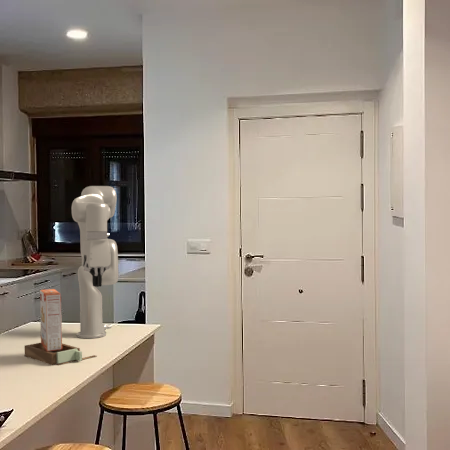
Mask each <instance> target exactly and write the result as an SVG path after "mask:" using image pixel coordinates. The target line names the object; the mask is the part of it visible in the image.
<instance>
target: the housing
mask: <svg viewBox="0 0 450 450" xmlns="http://www.w3.org/2000/svg"><path fill="white" fill-rule="evenodd" d="M71 349H78V351H81V349H80V347H78V346H77V347H76V346H73V345H69V344H66V343H62V350H55V351H46V349H45V348H44V346H43V345H42V344H41V342H36V343H31V344H25V345H24V357H27V358H29V359H33V360H34V361H38V362H42V363H45V364H47V365H50V366H54V365H57V366H61V365H65V364H70V363H74V362H79V361H78V360H72V361H67V362H63V363H59V364H58V363H57V352H61V351H66V350H71ZM96 357H98V355H94V354H93V355H90V356H85V357H82V361H84V360H87V359H92V358H96Z"/></svg>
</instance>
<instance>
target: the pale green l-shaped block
mask: <svg viewBox="0 0 450 450" xmlns="http://www.w3.org/2000/svg"><path fill="white" fill-rule="evenodd" d="M82 358H83V351H81V350H80V351H78V349H71V350H66V351H61V352H57V363H58V364H59V363H63V362H67V361H72V360H78V361H77V362H81V361H83V360H82Z"/></svg>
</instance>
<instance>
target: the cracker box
mask: <svg viewBox="0 0 450 450" xmlns="http://www.w3.org/2000/svg"><path fill="white" fill-rule="evenodd" d="M39 302H40V303H39V305H40V306H39V307H40V309H39V311H40V313H39V314H40V343H41V344H42V345H43V346H44V348H45V349H46V351H55V350H62V344H63V326H62V323H63V321H62V317H63V316H62V294H61V292H60V291H58V290H57V289H55V288H48V289H47V288H46V289H40V290H39Z"/></svg>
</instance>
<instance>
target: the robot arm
mask: <svg viewBox="0 0 450 450" xmlns="http://www.w3.org/2000/svg"><path fill="white" fill-rule="evenodd" d="M80 193H81V194H80V196H78V197H76V198H74V200H73V201H72V203H71V217H72V220H73V221H74V222H76V223H77V225H78V227H79V235H80V238H79V239H80V241H79V242H80V256H81V265H80V266H79V267H78V269H77V279H78V284H79V285H78V287H79V308H80V309H79V320H80V321H79V323H80V326H79V327H80V328H79V329H80V331H78V332H77V333H76V337H77V338H81V339H97V338H103V337H105V336H106V335H107V332H106V330H109V329H112V324H111V323H108V324H104V323H103V294H102V293H101V291H100V290H99V289H98V288H99V287H103V286H111V285H116V284H117V283H118V281H119V256H118V253H119V251H118V245H117V242H116V241H115V239H111V238H108V237H109V236H110V233H109V232H108V221H109V219H110V218H113V217H114V215H115V212H116V207H117V202H118V201H117V200H118V199H117V197H118V195H117V192H116V189H115V188H114V187H112V186H109V185H89V186H86V187H85V188H83V189H82V191H81V192H80Z"/></svg>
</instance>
